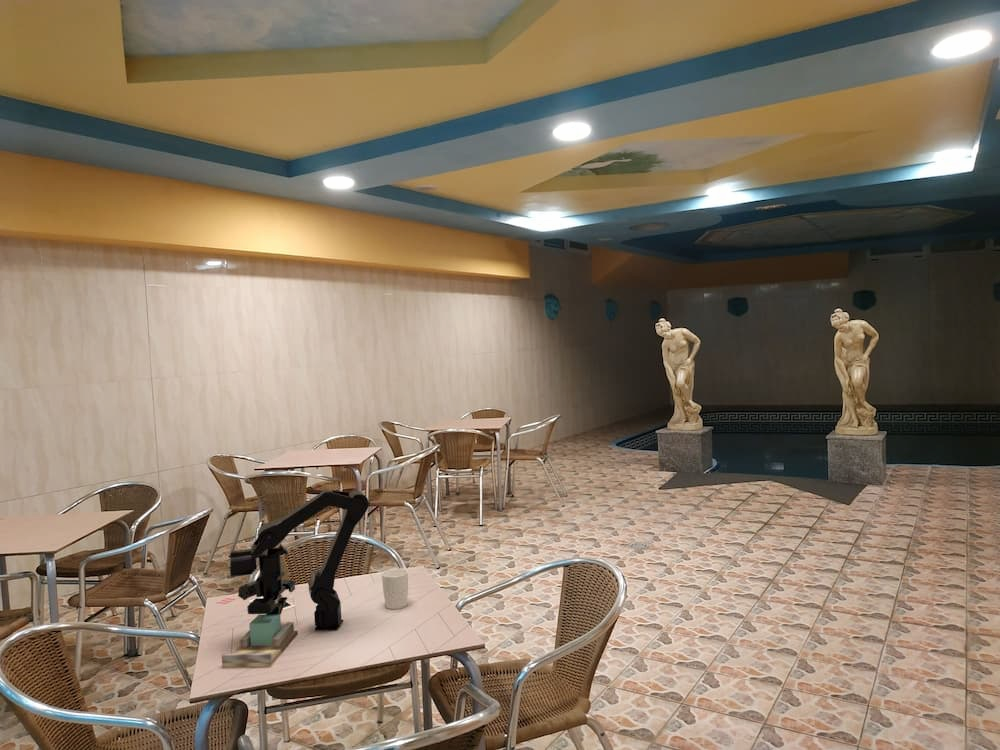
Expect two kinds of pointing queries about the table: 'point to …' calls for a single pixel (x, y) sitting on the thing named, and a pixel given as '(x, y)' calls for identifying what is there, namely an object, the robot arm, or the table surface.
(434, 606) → the table surface
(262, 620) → the block
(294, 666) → the table surface
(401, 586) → the white cup
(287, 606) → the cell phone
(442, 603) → the table surface
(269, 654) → the chute
